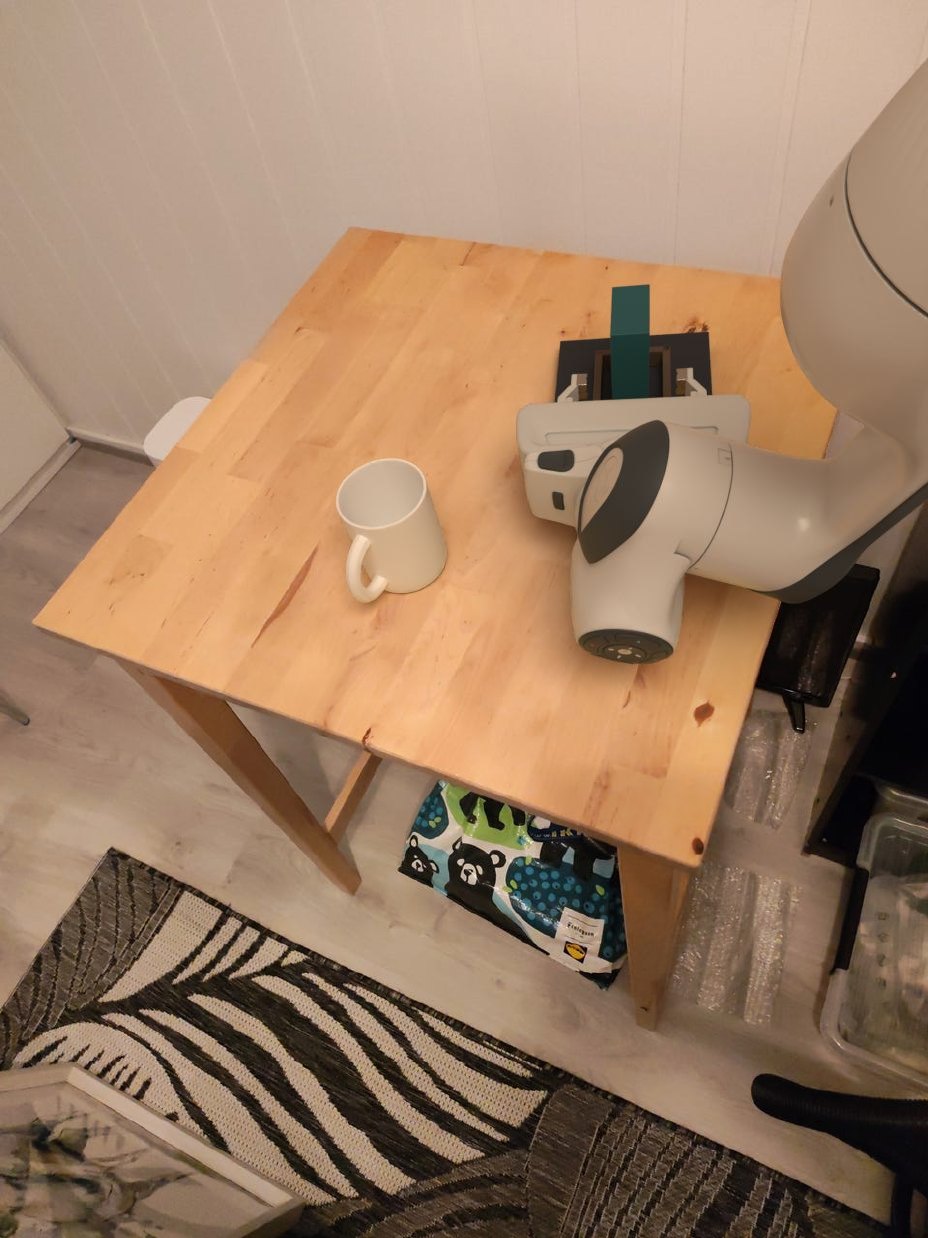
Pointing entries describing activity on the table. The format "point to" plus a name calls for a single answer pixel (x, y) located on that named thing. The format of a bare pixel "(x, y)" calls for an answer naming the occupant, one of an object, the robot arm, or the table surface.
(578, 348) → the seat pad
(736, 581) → the robot arm
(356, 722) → the table surface
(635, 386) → the back pad
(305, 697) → the table surface
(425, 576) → the mug
